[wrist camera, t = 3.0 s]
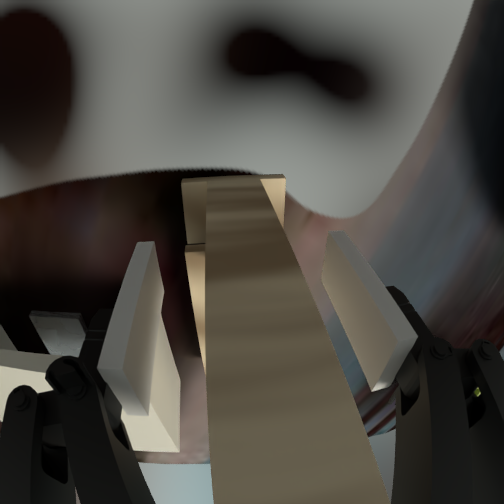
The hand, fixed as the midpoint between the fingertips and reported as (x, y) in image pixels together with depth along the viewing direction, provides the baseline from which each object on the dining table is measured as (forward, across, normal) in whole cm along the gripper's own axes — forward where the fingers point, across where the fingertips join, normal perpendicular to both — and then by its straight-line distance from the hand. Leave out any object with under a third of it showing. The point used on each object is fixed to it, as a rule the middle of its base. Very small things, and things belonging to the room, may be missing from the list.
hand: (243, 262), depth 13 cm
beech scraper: (+6, 0, -6) cm, 9 cm away
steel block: (+7, -16, -11) cm, 21 cm away
